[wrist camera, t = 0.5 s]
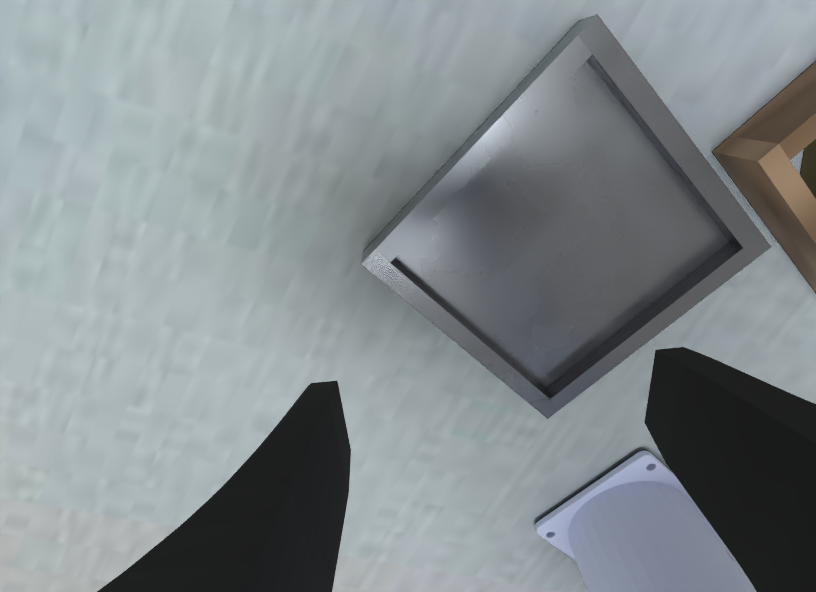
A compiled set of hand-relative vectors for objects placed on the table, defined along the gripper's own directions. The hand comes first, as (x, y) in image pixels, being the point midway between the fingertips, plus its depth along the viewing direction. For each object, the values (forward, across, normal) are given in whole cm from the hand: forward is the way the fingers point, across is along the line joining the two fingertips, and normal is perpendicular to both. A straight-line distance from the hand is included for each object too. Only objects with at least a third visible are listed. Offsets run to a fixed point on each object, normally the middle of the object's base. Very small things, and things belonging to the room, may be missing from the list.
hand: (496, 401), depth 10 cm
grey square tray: (+10, -5, 0) cm, 11 cm away
